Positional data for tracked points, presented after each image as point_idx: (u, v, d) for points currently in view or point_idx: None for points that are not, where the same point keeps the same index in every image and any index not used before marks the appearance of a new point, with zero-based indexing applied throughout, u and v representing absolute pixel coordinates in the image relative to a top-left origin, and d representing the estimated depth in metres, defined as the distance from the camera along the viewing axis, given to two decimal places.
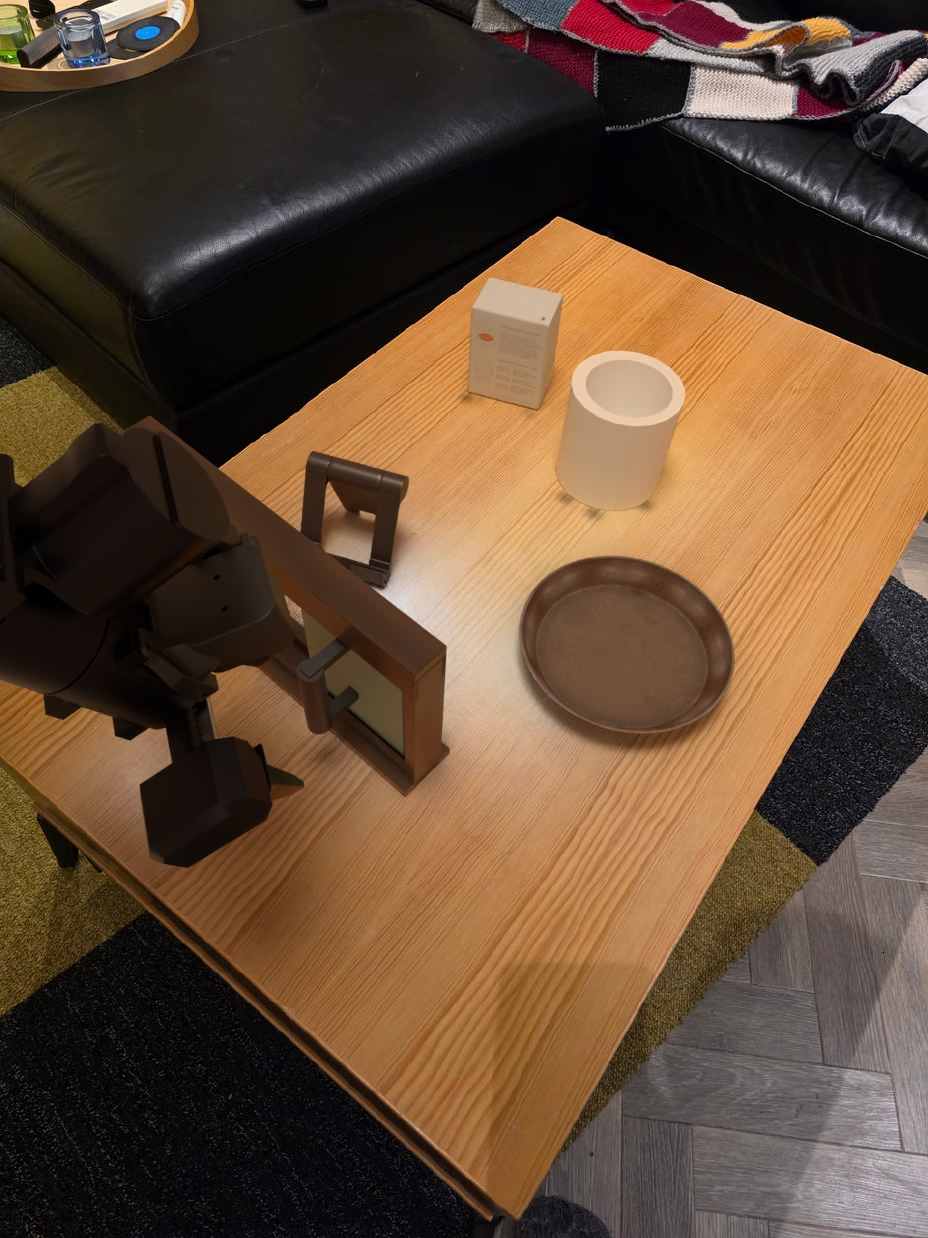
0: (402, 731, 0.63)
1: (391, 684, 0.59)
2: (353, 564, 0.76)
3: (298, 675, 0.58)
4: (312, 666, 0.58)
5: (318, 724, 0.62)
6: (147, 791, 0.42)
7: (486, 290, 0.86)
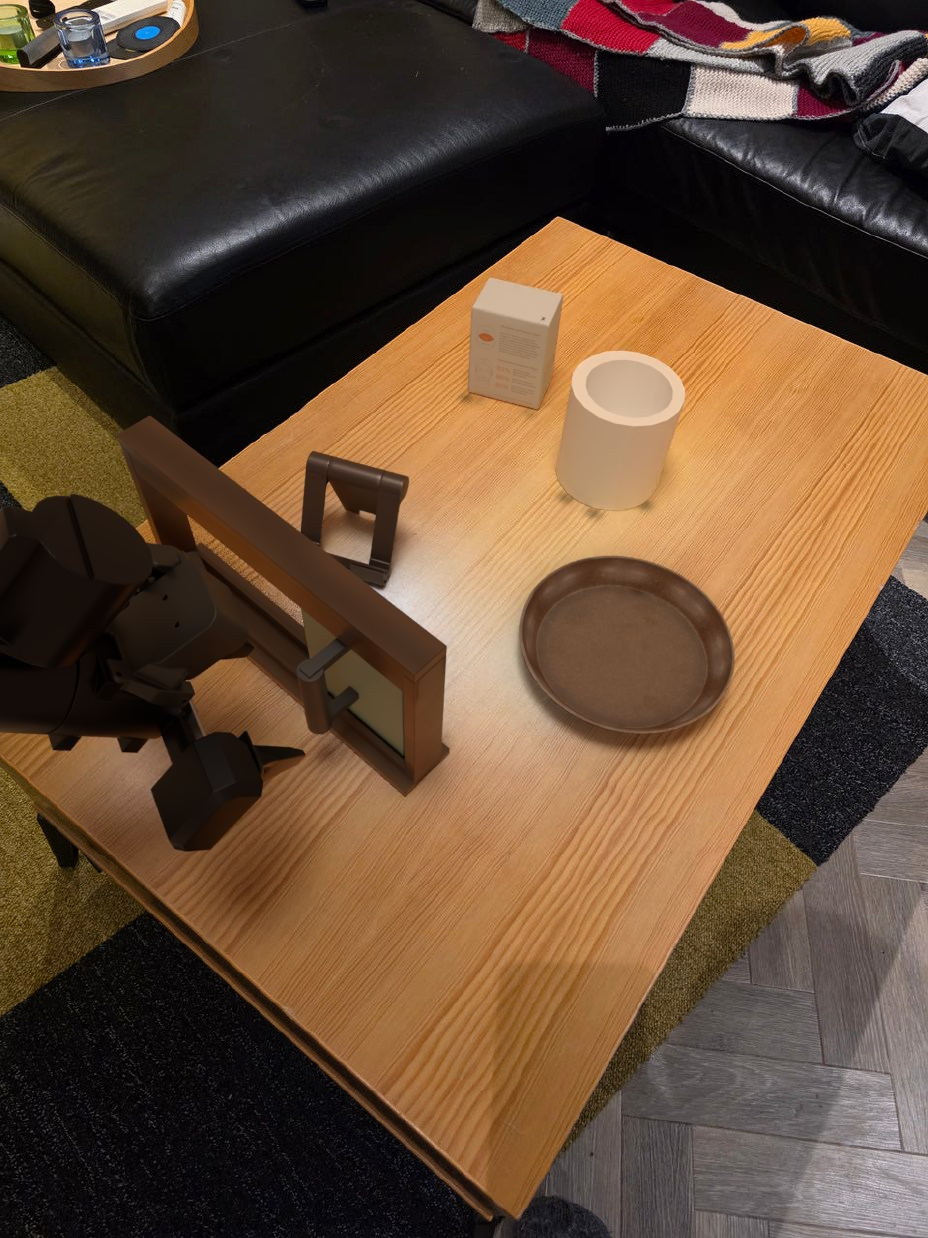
0: (402, 731, 0.63)
1: (391, 684, 0.59)
2: (353, 564, 0.76)
3: (298, 675, 0.58)
4: (312, 666, 0.58)
5: (318, 724, 0.62)
6: (157, 794, 0.48)
7: (486, 290, 0.86)
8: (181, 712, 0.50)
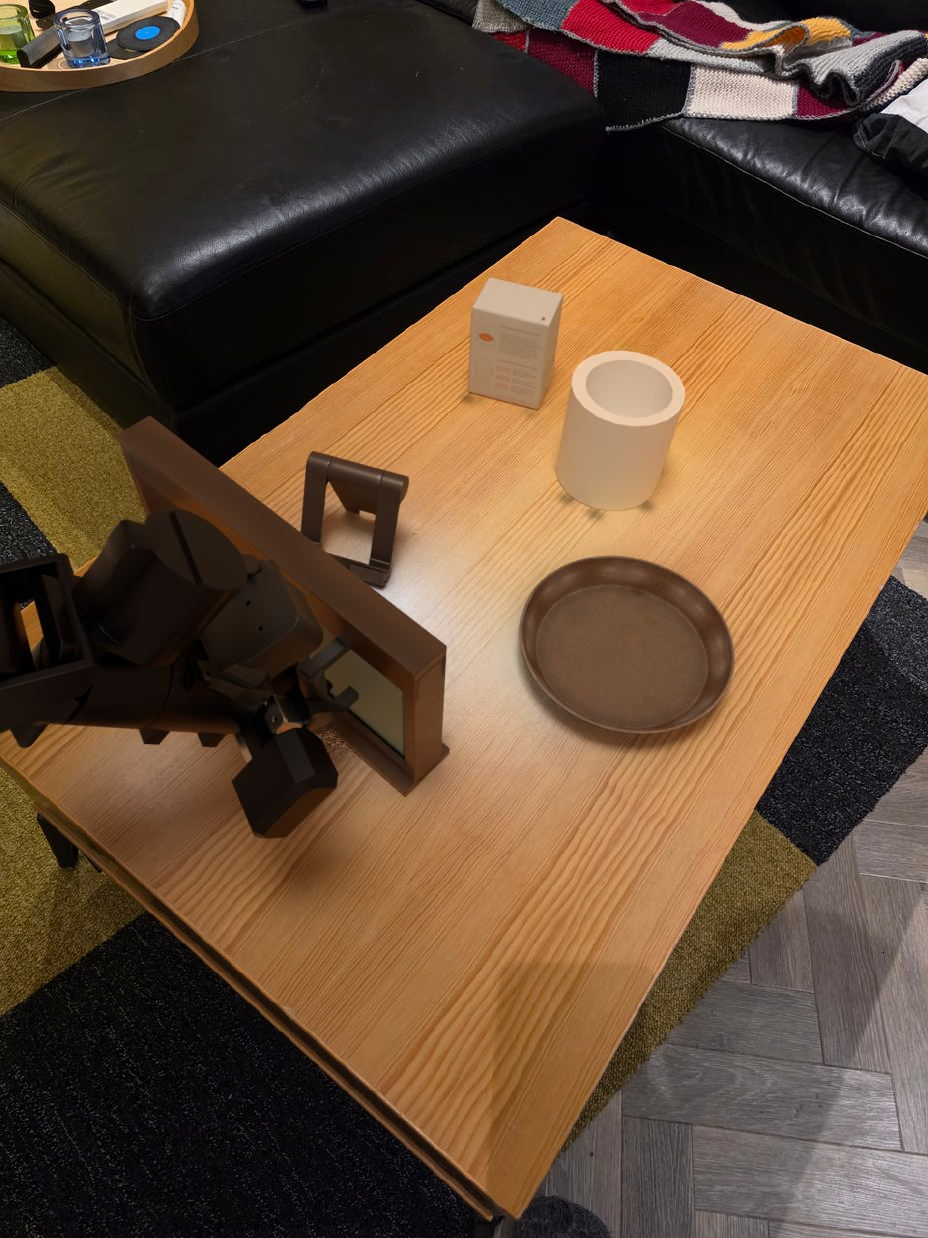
0: (402, 731, 0.63)
1: (391, 684, 0.59)
2: (353, 564, 0.76)
3: (298, 675, 0.58)
4: (312, 666, 0.58)
5: None
6: (238, 785, 0.52)
7: (486, 290, 0.86)
8: None
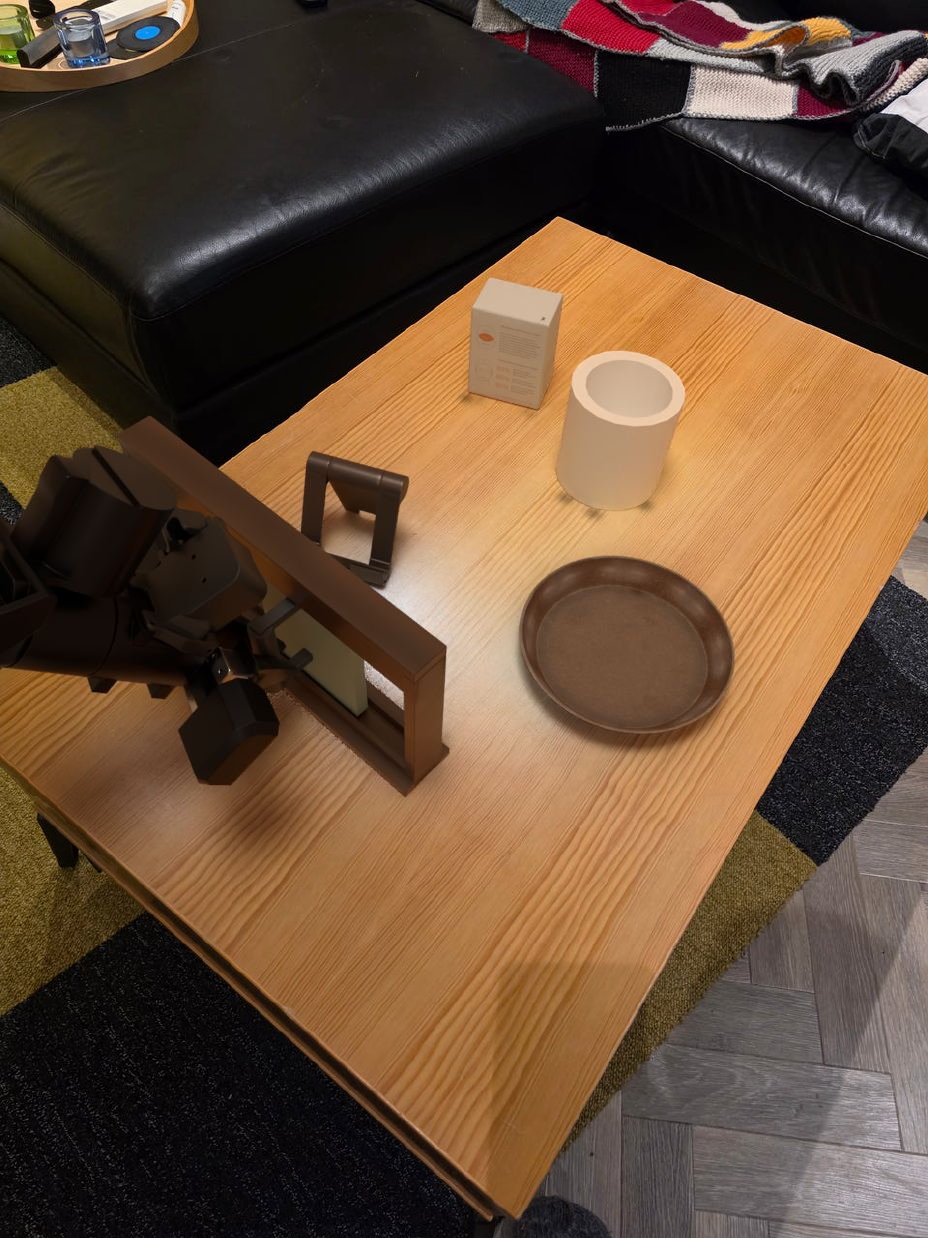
0: (354, 690, 0.65)
1: (340, 642, 0.61)
2: (353, 564, 0.76)
3: (248, 632, 0.59)
4: (262, 623, 0.60)
5: None
6: (184, 733, 0.54)
7: (486, 290, 0.86)
8: None
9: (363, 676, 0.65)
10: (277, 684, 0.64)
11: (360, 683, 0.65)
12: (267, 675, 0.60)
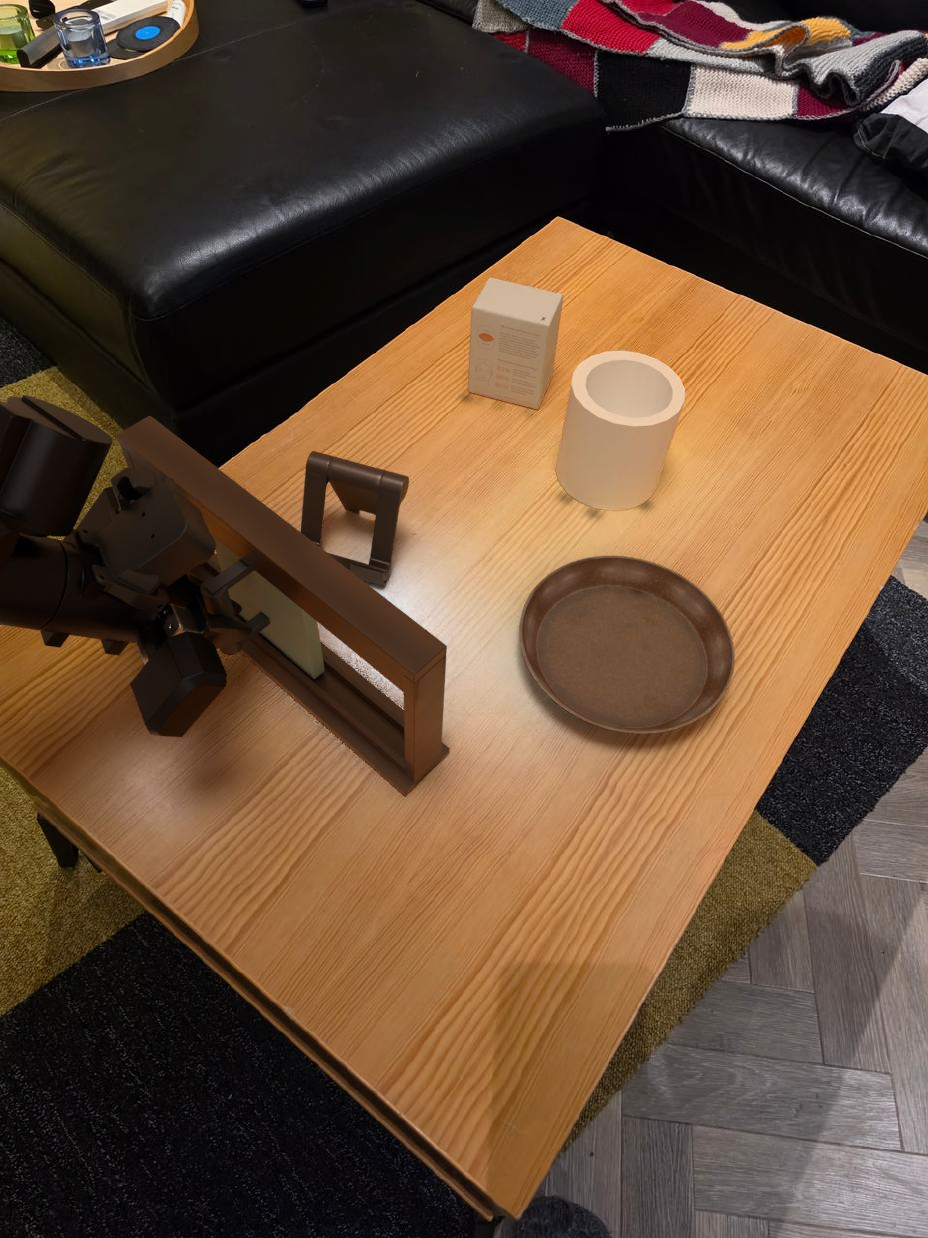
0: (309, 652, 0.67)
1: (292, 602, 0.63)
2: (353, 564, 0.76)
3: (202, 592, 0.61)
4: (215, 583, 0.61)
5: None
6: (135, 686, 0.56)
7: (486, 290, 0.86)
8: None
9: (317, 638, 0.67)
10: (233, 645, 0.66)
11: (314, 645, 0.67)
12: (221, 634, 0.62)
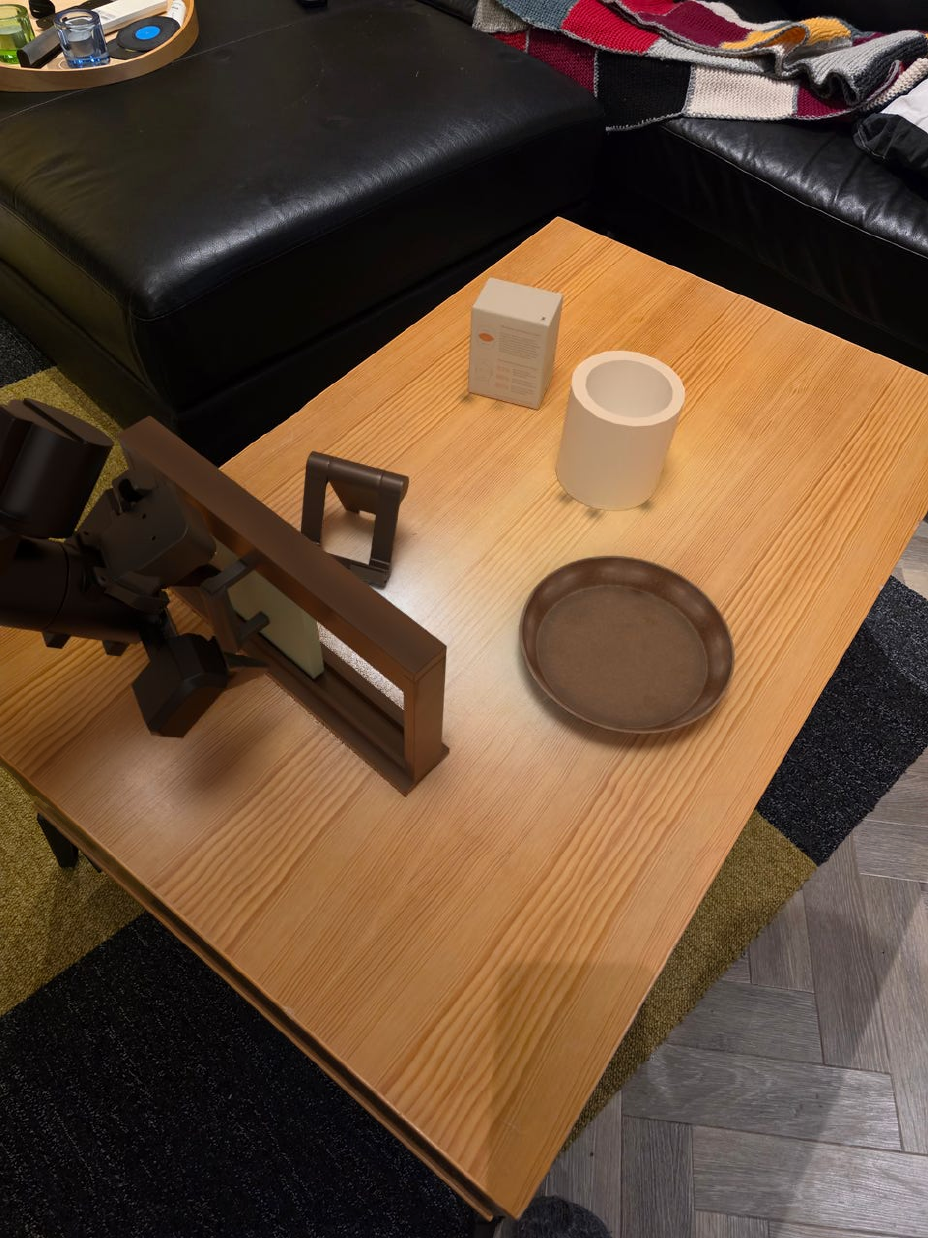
0: (308, 652, 0.67)
1: (291, 602, 0.63)
2: (353, 564, 0.76)
3: (201, 591, 0.61)
4: (215, 583, 0.61)
5: (227, 644, 0.66)
6: (137, 687, 0.56)
7: (486, 290, 0.86)
8: (158, 620, 0.58)
9: (317, 638, 0.67)
10: (233, 645, 0.66)
11: (314, 645, 0.67)
12: (239, 673, 0.61)
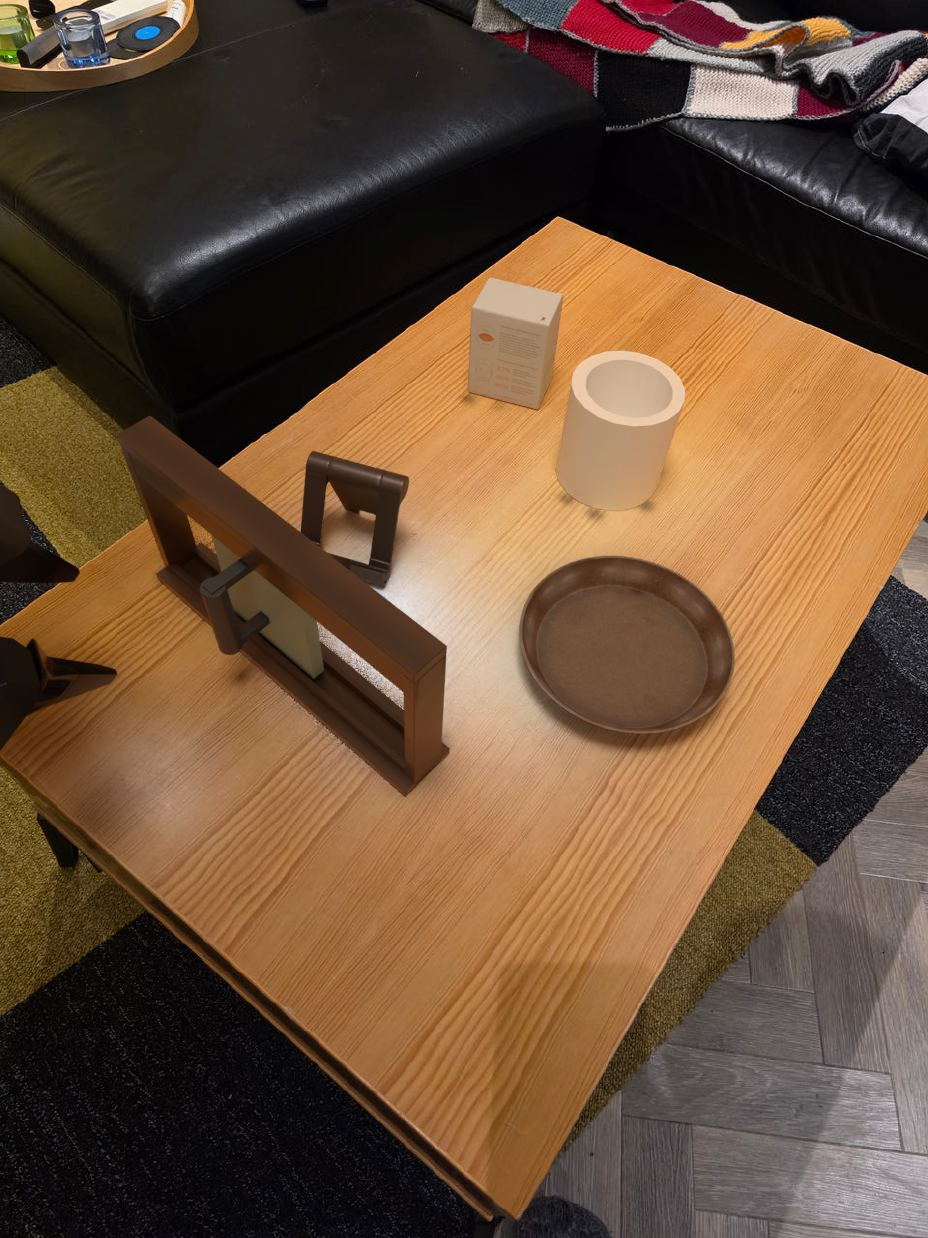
0: (308, 652, 0.67)
1: (291, 602, 0.63)
2: (353, 564, 0.76)
3: (201, 591, 0.61)
4: (215, 583, 0.61)
5: (227, 644, 0.66)
6: None
7: (486, 290, 0.86)
8: None
9: (317, 638, 0.67)
10: (233, 645, 0.66)
11: (314, 645, 0.67)
12: (73, 681, 0.53)
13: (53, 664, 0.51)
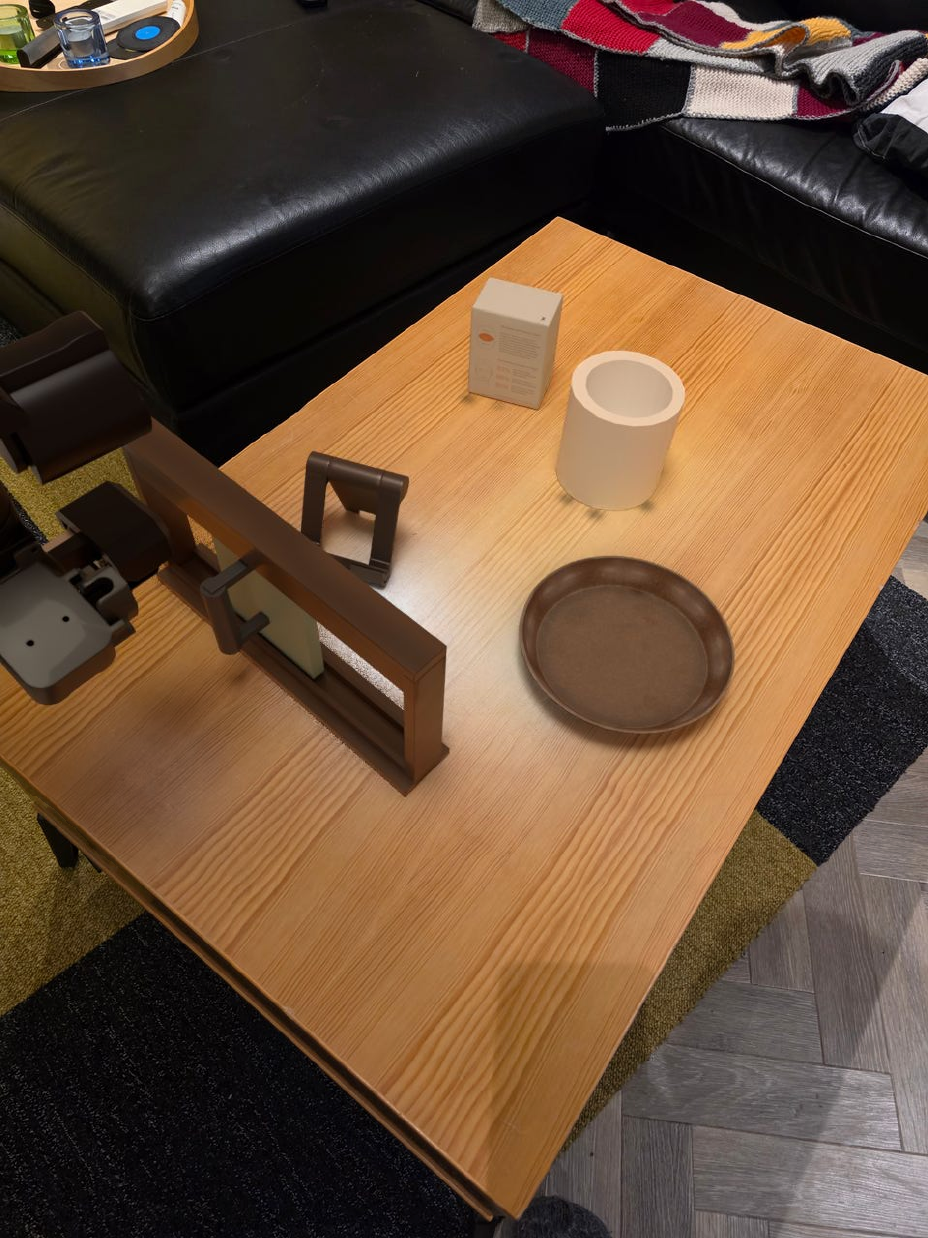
0: (308, 652, 0.67)
1: (291, 602, 0.63)
2: (353, 564, 0.76)
3: (201, 591, 0.61)
4: (215, 583, 0.61)
5: (227, 644, 0.66)
6: None
7: (486, 290, 0.86)
8: None
9: (317, 638, 0.67)
10: (233, 645, 0.66)
11: (314, 645, 0.67)
12: None
13: None
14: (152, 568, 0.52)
